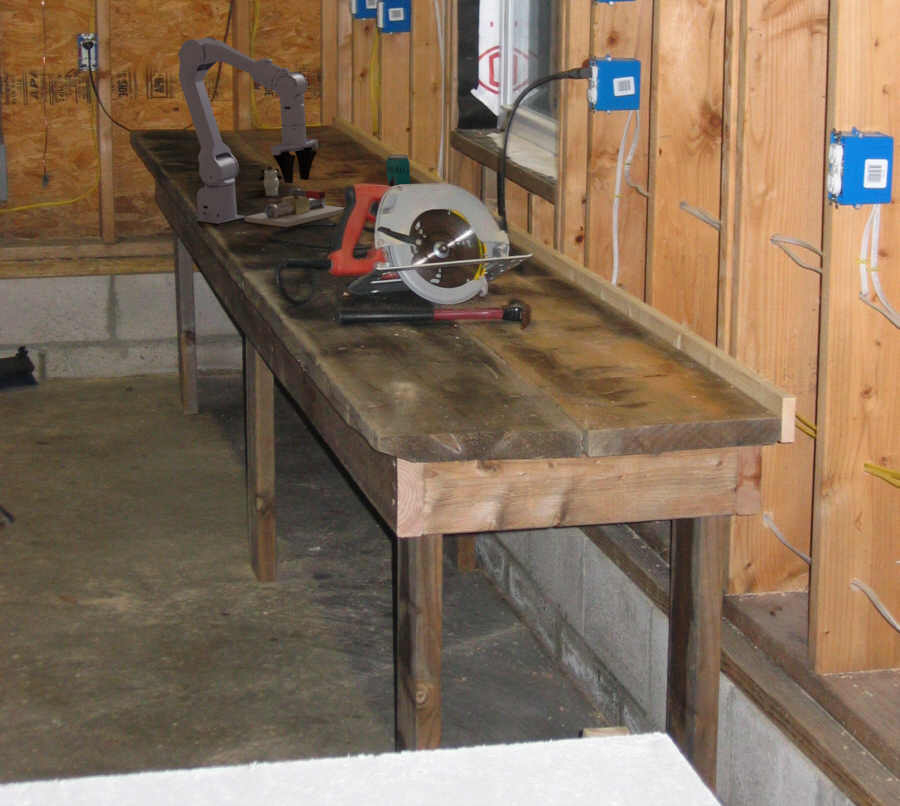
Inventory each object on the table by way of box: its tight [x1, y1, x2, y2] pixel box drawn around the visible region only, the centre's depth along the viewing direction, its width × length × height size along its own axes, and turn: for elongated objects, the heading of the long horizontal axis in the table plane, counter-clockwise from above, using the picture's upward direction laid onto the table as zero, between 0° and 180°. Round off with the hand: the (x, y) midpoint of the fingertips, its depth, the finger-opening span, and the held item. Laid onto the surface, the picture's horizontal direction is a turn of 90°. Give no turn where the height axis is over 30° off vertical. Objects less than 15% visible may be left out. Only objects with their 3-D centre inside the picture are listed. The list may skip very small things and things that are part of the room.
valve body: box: [264, 195, 327, 219], centre depth 355 cm, size 18×5×4 cm, turn 142°
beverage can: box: [385, 154, 411, 186], centre depth 351 cm, size 6×6×15 cm
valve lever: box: [289, 187, 326, 199], centre depth 352 cm, size 10×3×2 cm, turn 53°
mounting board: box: [244, 205, 345, 228], centre depth 356 cm, size 22×14×1 cm, turn 142°
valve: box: [258, 165, 283, 197], centre depth 391 cm, size 7×7×12 cm
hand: (296, 181), depth 344 cm, fingers open, 5 cm apart
